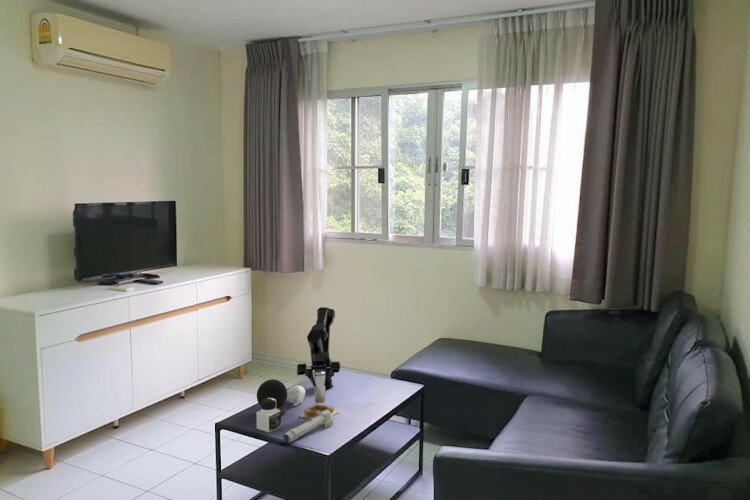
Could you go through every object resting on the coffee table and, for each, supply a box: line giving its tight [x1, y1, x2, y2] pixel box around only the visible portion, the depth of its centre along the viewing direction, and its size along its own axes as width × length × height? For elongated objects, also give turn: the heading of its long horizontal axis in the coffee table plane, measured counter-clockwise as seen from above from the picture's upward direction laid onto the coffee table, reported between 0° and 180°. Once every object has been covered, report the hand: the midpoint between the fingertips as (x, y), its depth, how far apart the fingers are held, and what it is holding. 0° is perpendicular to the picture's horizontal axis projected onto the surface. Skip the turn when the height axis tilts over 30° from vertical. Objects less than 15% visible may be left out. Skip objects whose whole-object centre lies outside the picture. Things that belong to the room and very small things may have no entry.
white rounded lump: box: [286, 385, 306, 407], centre depth 248 cm, size 6×8×12 cm
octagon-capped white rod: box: [282, 410, 335, 444], centre depth 218 cm, size 5×7×25 cm
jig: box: [299, 403, 339, 421], centre depth 235 cm, size 12×12×3 cm
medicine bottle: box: [256, 398, 282, 433], centre depth 221 cm, size 7×7×12 cm
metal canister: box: [313, 370, 326, 404], centre depth 234 cm, size 5×5×13 cm
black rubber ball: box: [256, 379, 288, 418], centre depth 236 cm, size 13×13×15 cm
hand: (320, 386), depth 232 cm, fingers closed on metal canister, 5 cm apart
